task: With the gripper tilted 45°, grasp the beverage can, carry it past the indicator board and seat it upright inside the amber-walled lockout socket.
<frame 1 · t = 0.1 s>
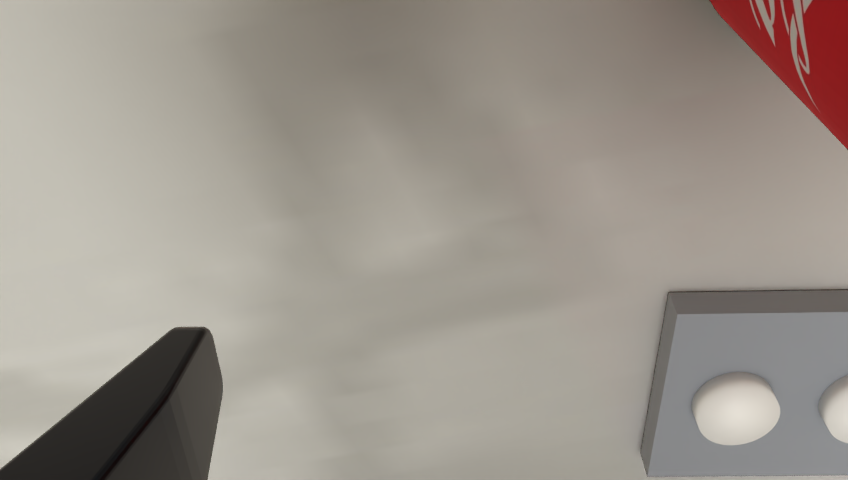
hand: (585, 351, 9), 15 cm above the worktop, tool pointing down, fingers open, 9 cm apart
indicator board: (844, 376, 29), on the worktop
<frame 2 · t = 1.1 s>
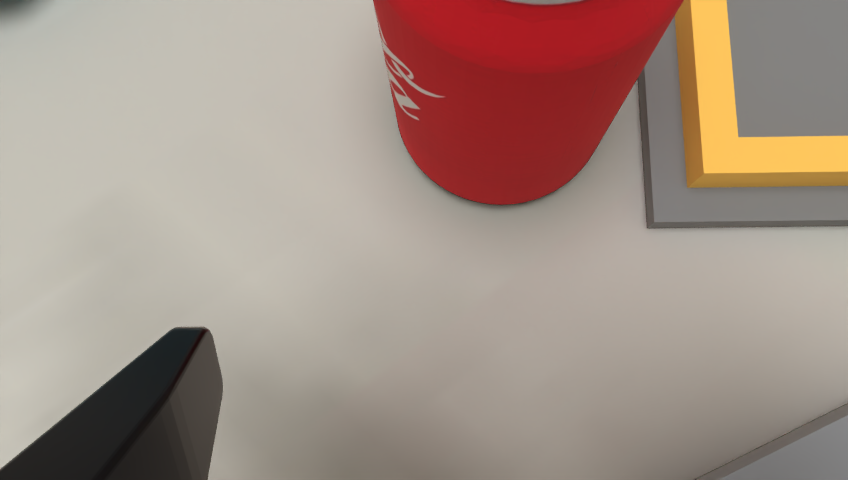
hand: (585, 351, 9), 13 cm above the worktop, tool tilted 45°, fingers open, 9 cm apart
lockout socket: (846, 20, 24), on the worktop
beverage can: (497, 115, 24), on the worktop
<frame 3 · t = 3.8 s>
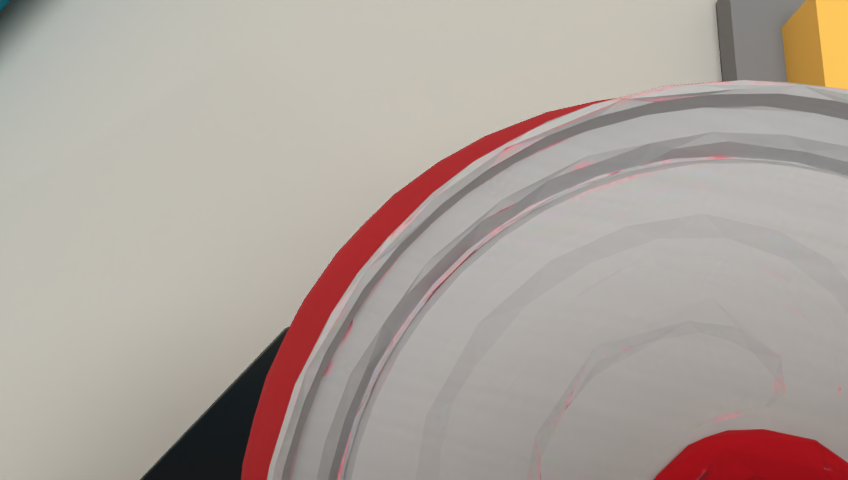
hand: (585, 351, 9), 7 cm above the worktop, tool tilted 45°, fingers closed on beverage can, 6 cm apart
beverage can: (531, 441, 16), on the worktop, touching gripper
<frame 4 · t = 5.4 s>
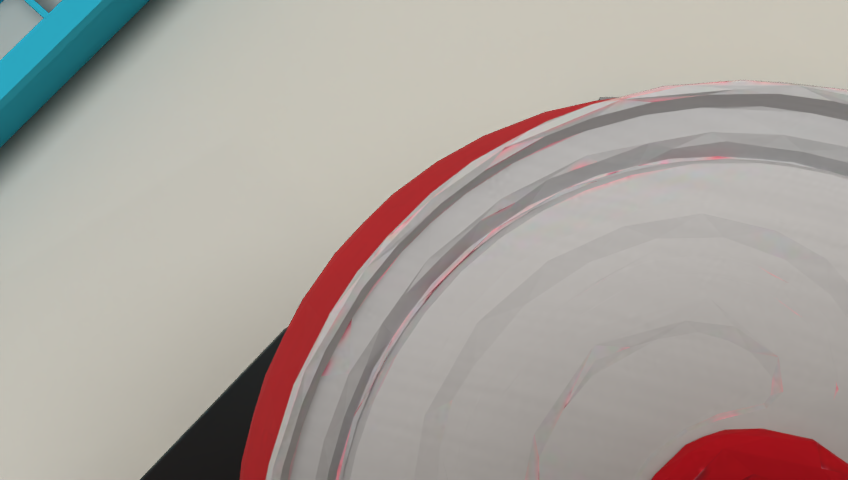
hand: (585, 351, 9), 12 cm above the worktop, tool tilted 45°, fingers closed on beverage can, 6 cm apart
beverage can: (529, 440, 16), point 5 cm above the worktop, touching gripper
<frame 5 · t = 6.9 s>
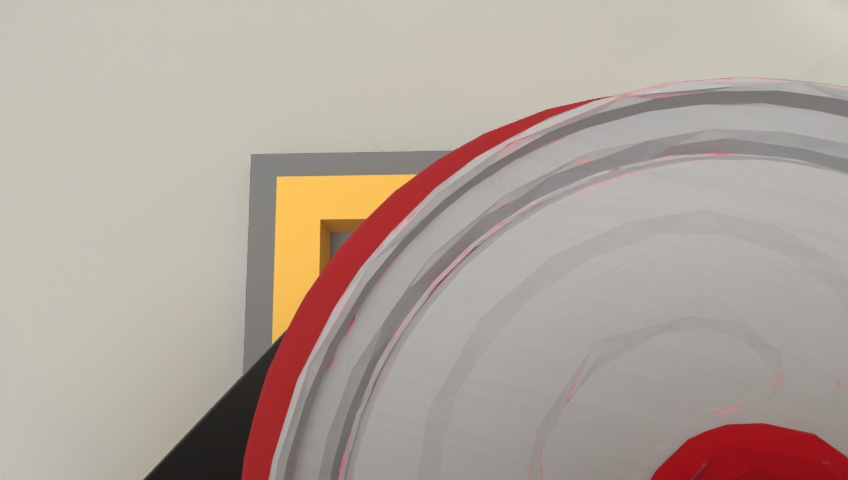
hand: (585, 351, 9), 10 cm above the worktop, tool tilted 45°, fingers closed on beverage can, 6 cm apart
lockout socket: (520, 421, 19), on the worktop
beverage can: (528, 439, 16), point 3 cm above the worktop, touching gripper
when the fingers open (10 cm above the worktop, at t = 7.2 s): beverage can drops 2 cm, resting on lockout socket.
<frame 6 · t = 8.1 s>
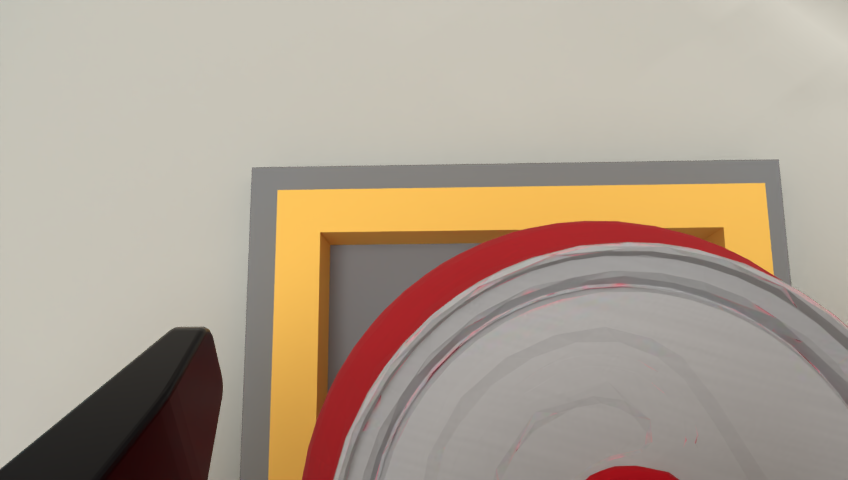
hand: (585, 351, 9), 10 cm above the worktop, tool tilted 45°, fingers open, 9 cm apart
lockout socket: (517, 432, 19), on the worktop
beverage can: (518, 444, 18), point 1 cm above the worktop, touching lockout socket
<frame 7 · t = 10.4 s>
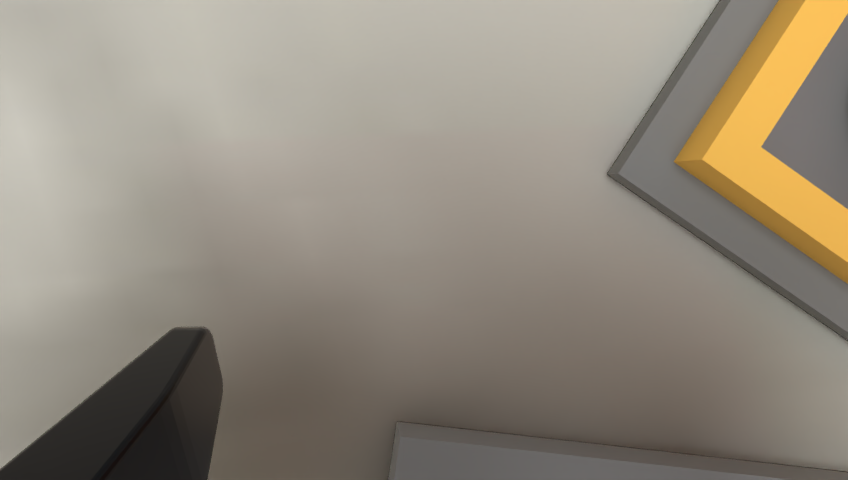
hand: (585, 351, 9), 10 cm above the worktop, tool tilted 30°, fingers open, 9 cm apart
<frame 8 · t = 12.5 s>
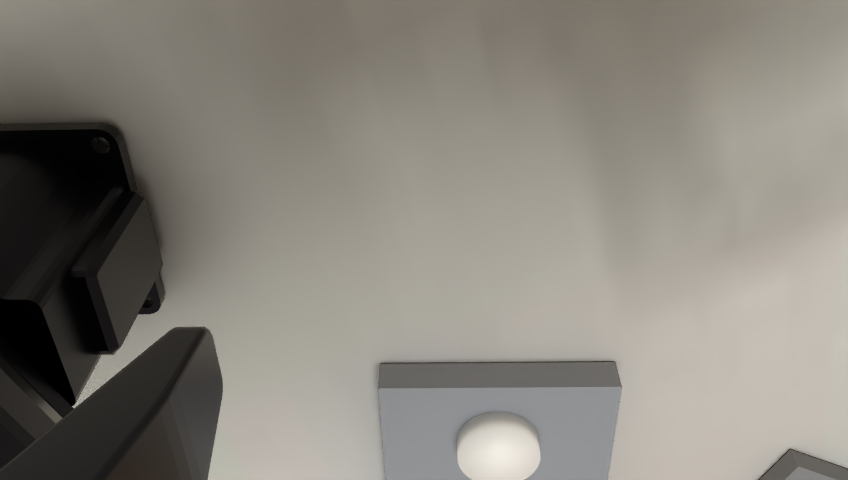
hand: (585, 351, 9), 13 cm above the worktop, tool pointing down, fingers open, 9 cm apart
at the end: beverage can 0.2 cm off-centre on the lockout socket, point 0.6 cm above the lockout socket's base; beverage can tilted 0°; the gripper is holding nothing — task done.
